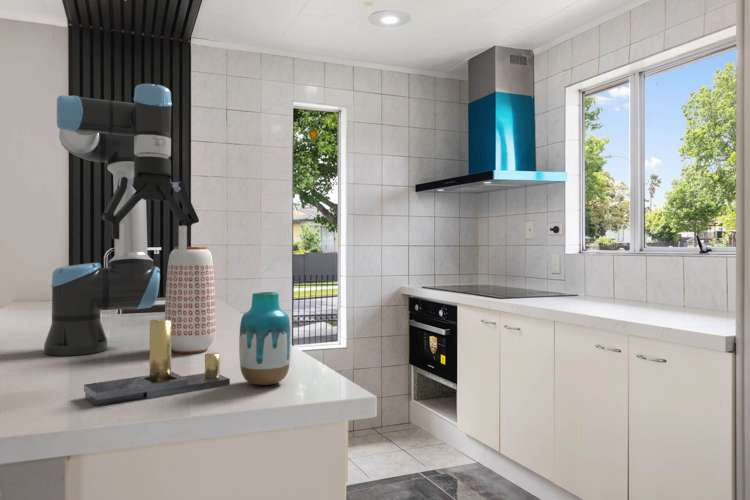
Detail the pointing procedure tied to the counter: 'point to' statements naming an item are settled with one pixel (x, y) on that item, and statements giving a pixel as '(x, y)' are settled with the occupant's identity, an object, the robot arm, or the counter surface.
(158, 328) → the pin
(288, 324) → the vase
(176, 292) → the vase
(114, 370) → the counter surface
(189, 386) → the grey slide latch
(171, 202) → the robot arm
